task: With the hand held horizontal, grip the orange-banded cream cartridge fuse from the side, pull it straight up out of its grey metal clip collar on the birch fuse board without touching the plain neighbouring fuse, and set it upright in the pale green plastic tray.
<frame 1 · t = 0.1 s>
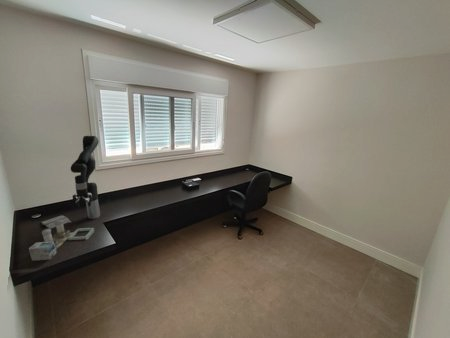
hand: (83, 206, 164), 17 cm above the table, tool pointing down, fingers open, 8 cm apart
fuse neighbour: (50, 246, 138), point 1 cm above the table, touching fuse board
light bulb box: (45, 258, 130), on the table
gadget: (57, 224, 169), on the table
tray: (82, 236, 153), on the table
fuse marked: (61, 235, 150), point 1 cm above the table, touching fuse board
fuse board: (56, 242, 145), on the table
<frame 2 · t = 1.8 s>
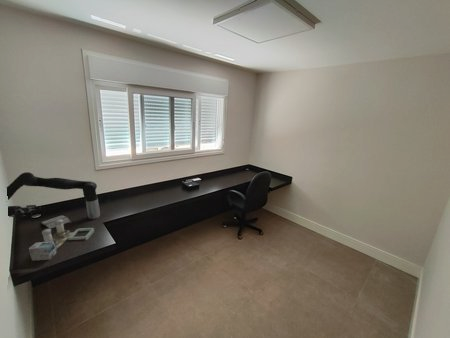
hand: (36, 210, 142), 24 cm above the table, tool horizontal, fingers open, 8 cm apart
nothing on the table moved.
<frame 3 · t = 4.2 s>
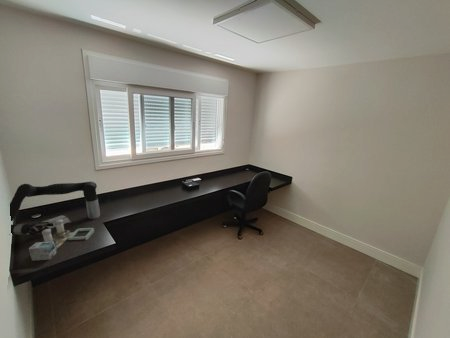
hand: (49, 227, 147), 9 cm above the table, tool horizontal, fingers open, 8 cm apart
nothing on the table moved.
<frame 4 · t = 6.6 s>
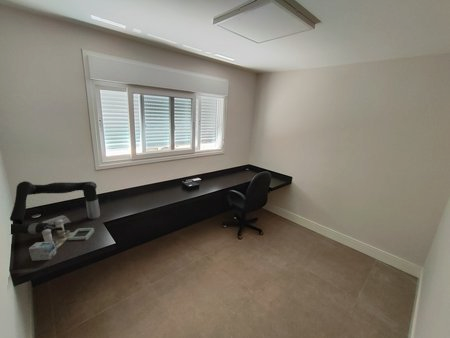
hand: (64, 227, 149), 9 cm above the table, tool horizontal, fingers closed on fuse marked, 4 cm apart
fuse marked: (61, 235, 150), point 2 cm above the table, touching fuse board, gripper
everything else where it was.
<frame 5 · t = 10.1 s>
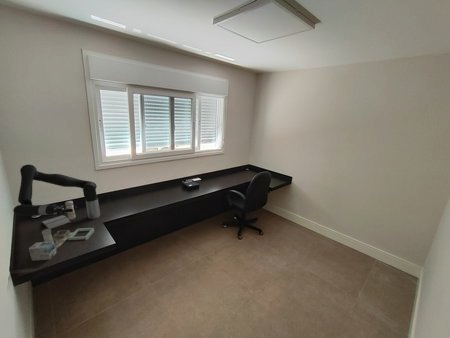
hand: (74, 208, 146), 24 cm above the table, tool horizontal, fingers closed on fuse marked, 4 cm apart
fuse marked: (72, 217, 148), point 16 cm above the table, touching gripper
everything else where it was.
when the fingers open (10 cm above the table, at t = 13.5 s): fuse marked drops 1 cm, resting on tray.
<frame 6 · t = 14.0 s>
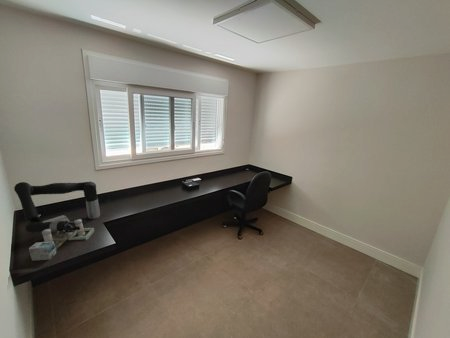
hand: (82, 225, 151), 10 cm above the table, tool horizontal, fingers open, 8 cm apart
fuse marked: (81, 235, 153), point 1 cm above the table, touching tray
everything else where it was.
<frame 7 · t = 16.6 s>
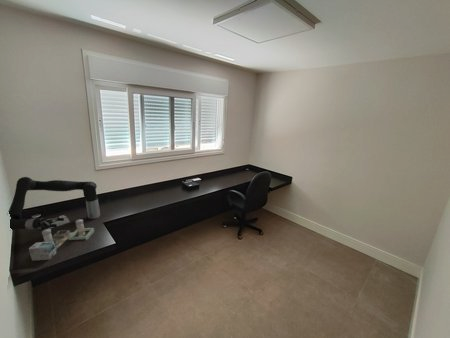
hand: (60, 222, 148), 13 cm above the table, tool horizontal, fingers open, 8 cm apart
nothing on the table moved.
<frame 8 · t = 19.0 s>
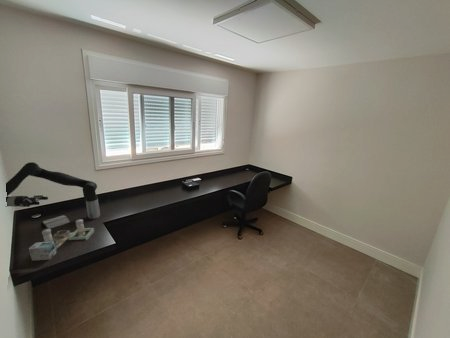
hand: (43, 200, 144), 30 cm above the table, tool horizontal, fingers open, 8 cm apart
nothing on the table moved.
at the end: fuse marked inside the target area on the tray (0.1 cm from its centre), point 0.8 cm above the tray's base; fuse marked tilted 0°; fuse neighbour moved 0.0 cm from its start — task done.
